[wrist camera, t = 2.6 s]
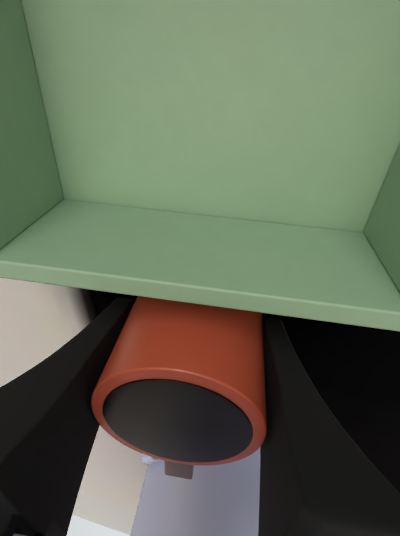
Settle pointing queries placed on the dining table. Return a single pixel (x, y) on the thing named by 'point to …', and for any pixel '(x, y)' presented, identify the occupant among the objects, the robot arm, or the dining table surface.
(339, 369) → the dining table surface
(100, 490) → the dining table surface
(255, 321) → the pot
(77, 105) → the drawer
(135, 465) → the dining table surface
